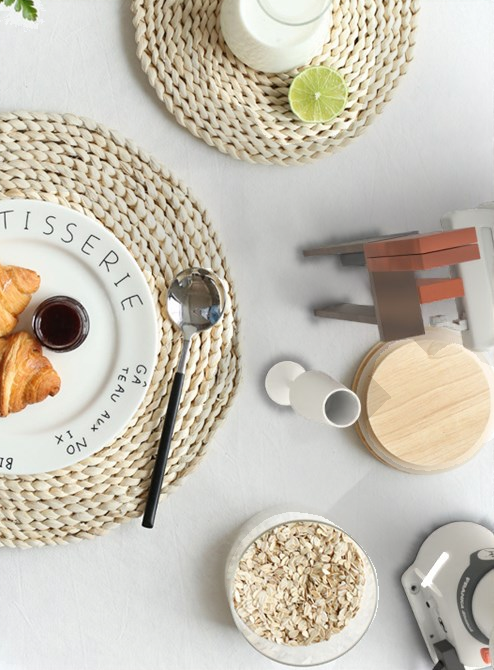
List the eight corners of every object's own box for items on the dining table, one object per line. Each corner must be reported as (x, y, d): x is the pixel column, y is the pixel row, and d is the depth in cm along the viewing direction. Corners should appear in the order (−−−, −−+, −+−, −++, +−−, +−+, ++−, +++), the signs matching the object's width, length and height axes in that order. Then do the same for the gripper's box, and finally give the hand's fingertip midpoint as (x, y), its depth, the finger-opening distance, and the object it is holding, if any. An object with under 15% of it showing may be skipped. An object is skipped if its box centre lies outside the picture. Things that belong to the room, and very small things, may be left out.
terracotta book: (416, 293, 124) (465, 295, 109) (378, 301, 124) (422, 304, 109) (413, 278, 124) (462, 277, 109) (375, 285, 124) (418, 286, 109)
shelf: (424, 332, 99) (496, 343, 83) (376, 342, 99) (439, 354, 82) (406, 234, 99) (475, 225, 82) (358, 243, 99) (417, 236, 82)
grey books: (380, 258, 124) (423, 255, 109) (342, 266, 123) (379, 264, 109) (376, 236, 124) (418, 230, 109) (338, 243, 123) (375, 239, 109)
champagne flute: (255, 382, 123) (302, 406, 99) (288, 351, 123) (343, 368, 99) (285, 414, 123) (340, 447, 99) (318, 384, 124) (380, 409, 100)
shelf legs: (346, 309, 124) (417, 317, 99) (314, 316, 123) (377, 325, 99) (334, 244, 123) (402, 235, 99) (302, 250, 123) (362, 243, 99)
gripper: (517, 196, 114) (421, 215, 113) (543, 342, 114) (448, 361, 113) (493, 201, 120) (402, 218, 119) (518, 338, 121) (428, 357, 120)
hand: (425, 289), depth 116 cm, fingers open, 8 cm apart
